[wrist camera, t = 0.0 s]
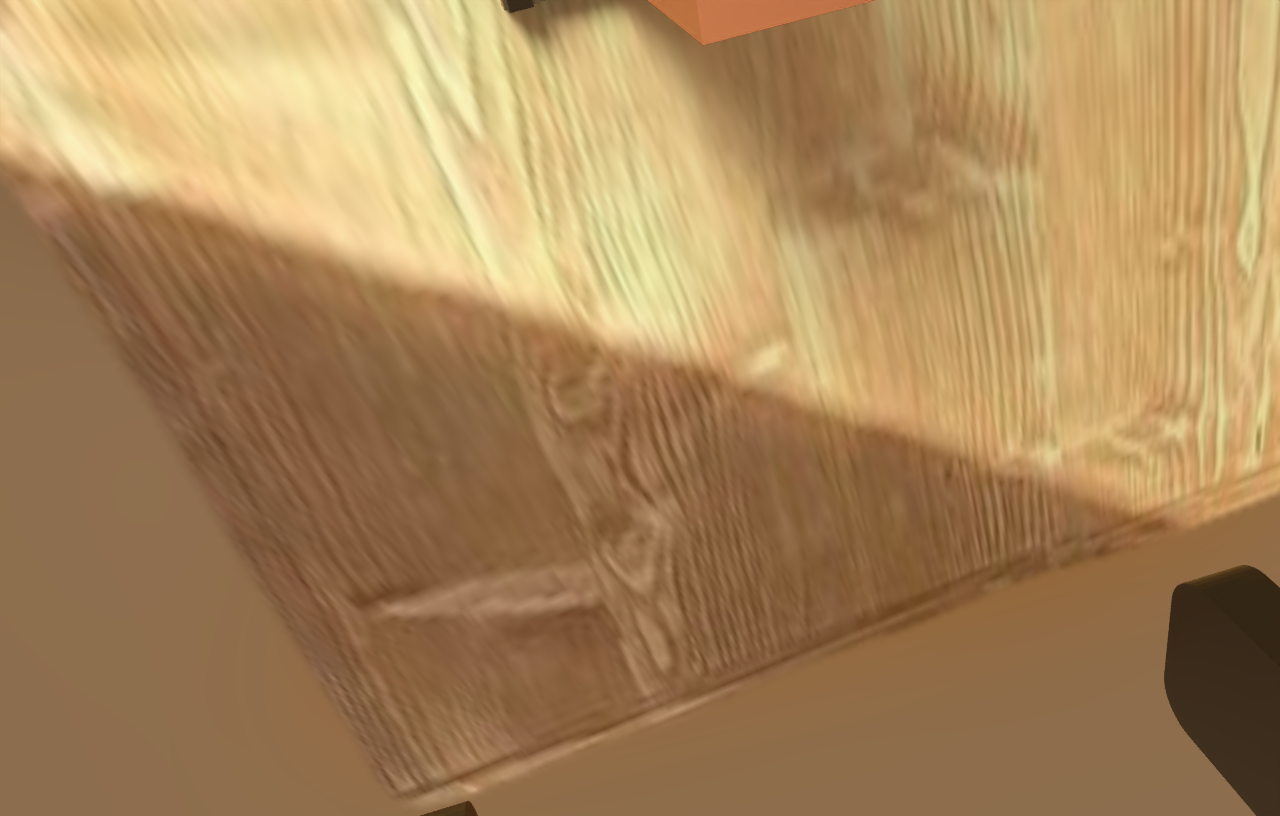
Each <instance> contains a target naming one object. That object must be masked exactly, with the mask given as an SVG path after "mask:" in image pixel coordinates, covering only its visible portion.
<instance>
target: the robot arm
mask: <svg viewBox="0 0 1280 816" xmlns="http://www.w3.org/2000/svg"><path fill="white" fill-rule="evenodd" d="M1164 682H1165V689H1166V693H1167V697H1168V700H1169V703H1170V705H1171V708H1172V710H1173V712H1174V714H1175V716H1176V718H1177V720H1178V721H1179V723H1180V725H1181V726H1182V728H1183V729H1184V730H1185V732H1186V733H1187V734H1188V735H1189V737H1190V738H1191V739H1192V740H1193V741H1194V743H1195V744H1196V745H1197V746H1198V747H1199V748H1200V750H1201V751H1202V752H1203V753H1204V754H1205V756H1206V757H1207V758H1208V759H1209V760H1210V761H1211V763H1212V764H1213V765H1214V766H1215V767H1216V769H1217V770H1218V771H1219V772H1220V773H1221V774H1222V776H1223V777H1224V778H1225V779H1226V780H1227V781H1228V783H1229V784H1230V785H1231V786H1232V787H1233V789H1234V790H1235V791H1236V792H1237V793H1238V794H1239V796H1240V797H1241V798H1242V799H1243V800H1244V802H1245V803H1246V804H1247V805H1248V806H1249V807H1250V809H1251V810H1252V811H1253V812H1254V813H1255V815H1256V816H1280V588H1279V587H1278V586H1277V585H1276V584H1275V583H1274V582H1273V581H1272V580H1270V579H1269V578H1268V577H1267V576H1266V575H1265V574H1263V573H1262V572H1261V571H1259V570H1258V569H1256V568H1254V567H1251V566H1247V565H1241V566H1237V567H1234V568H1231V569H1228V570H1225V571H1221V572H1218V573H1214V574H1211V575H1208V576H1205V577H1202V578H1198V579H1195V580H1192V581H1189V582H1185V583H1182V584H1180V585H1178V586H1177V587H1176V588H1175V590H1174V592H1173V596H1172V602H1171V613H1170V623H1169V632H1168V643H1167V653H1166V663H1165V673H1164ZM421 816H478V815H477V813H476V811H475V809H474V807H473V805H472V804H471V802H470V801H466V802H463V803H460V804H457V805H453V806H450V807H447V808H444V809H440V810H437V811H434V812H431V813H427V814H424V815H421Z"/></svg>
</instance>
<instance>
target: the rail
mask: <svg viewBox="0 0 1280 816" xmlns="http://www.w3.org/2000/svg"><path fill="white" fill-rule="evenodd" d="M539 1H543V0H501V4H502V6H503V8H504V10H508V11H509V13H511V12H515V11H519V10H523V9H527V8H531V7H534V4H533V3H535V2H539Z"/></svg>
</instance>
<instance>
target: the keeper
mask: <svg viewBox="0 0 1280 816" xmlns="http://www.w3.org/2000/svg"><path fill="white" fill-rule="evenodd" d="M648 1H649V2H650V3H651V4H653V5H654V6H655V7H656V8H658V9H659V10H660V11H661V12H663V13H664V14H665V15H666V16H668V17H669V18H670V19H671V20H673V21H674V22H675V23H676V24H678V25H679V26H680V27H681V28H682V29H684V30H685V31H686V32H687V33H689V34H690V35H691V36H692V37H694V38H695V39H696V40H697V41H699V42H700V43H701V44H702V45H706V44H709V43H713V42H717V41H721V40H725V39H729V38H732V37H736V36H740V35H744V34H748V33H752V32H755V31H759V30H763V29H767V28H771V27H775V26H778V25H782V24H786V23H790V22H794V21H798V20H801V19H805V18H809V17H813V16H817V15H821V14H824V13H828V12H832V11H836V10H840V9H844V8H847V7H851V6H855V5H859V4H863V3H867V2H870V1H874V0H648Z"/></svg>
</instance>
